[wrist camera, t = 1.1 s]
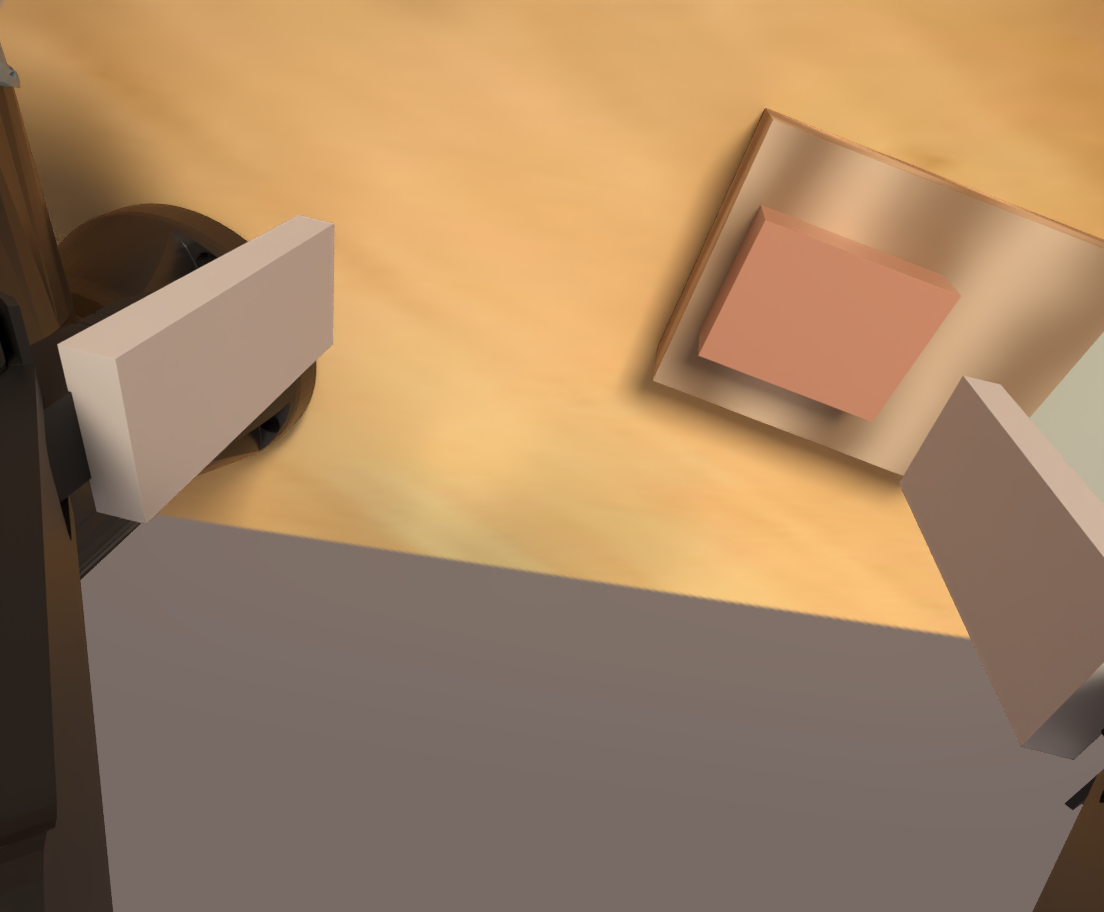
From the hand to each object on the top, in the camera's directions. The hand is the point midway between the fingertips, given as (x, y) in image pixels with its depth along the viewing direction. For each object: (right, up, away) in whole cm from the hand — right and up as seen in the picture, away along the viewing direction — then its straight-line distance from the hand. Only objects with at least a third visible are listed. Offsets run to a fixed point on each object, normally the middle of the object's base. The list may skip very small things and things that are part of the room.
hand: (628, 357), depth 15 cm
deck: (+13, +5, +19) cm, 24 cm away
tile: (+10, +4, +15) cm, 19 cm away
